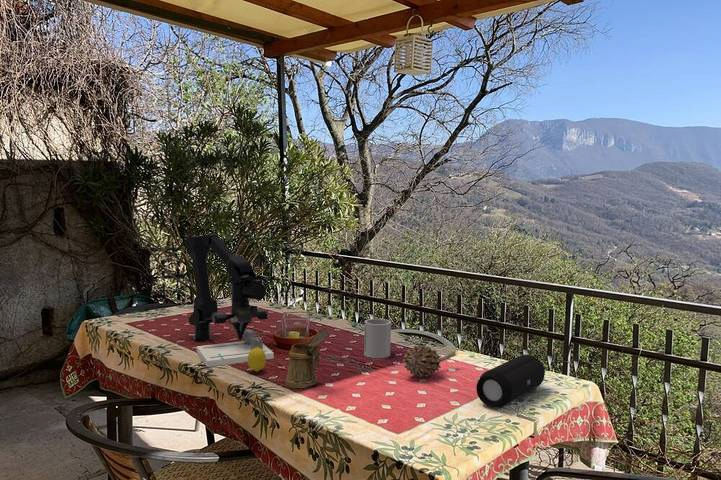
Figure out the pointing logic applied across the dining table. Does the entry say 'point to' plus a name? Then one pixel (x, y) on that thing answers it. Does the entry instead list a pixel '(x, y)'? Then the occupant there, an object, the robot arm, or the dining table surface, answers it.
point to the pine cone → (424, 360)
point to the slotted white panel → (228, 353)
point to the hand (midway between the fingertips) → (239, 339)
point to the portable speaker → (510, 380)
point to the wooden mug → (304, 362)
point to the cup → (377, 338)
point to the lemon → (256, 359)
